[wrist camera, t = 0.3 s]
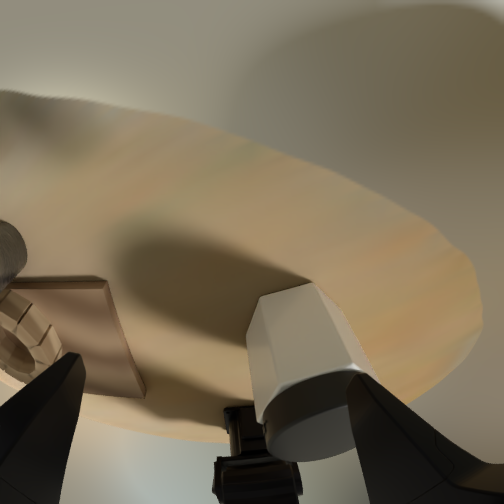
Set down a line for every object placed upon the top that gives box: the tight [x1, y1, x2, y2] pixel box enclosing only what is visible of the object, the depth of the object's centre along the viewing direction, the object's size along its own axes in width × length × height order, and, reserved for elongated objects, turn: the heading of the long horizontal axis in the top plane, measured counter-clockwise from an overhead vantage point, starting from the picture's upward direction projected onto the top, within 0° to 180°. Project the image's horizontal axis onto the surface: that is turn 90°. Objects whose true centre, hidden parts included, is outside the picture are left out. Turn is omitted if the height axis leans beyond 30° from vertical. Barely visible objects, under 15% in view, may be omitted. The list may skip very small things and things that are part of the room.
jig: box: [0, 281, 146, 399], centre depth 23 cm, size 15×18×4 cm
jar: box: [246, 283, 381, 462], centre depth 20 cm, size 9×8×12 cm
